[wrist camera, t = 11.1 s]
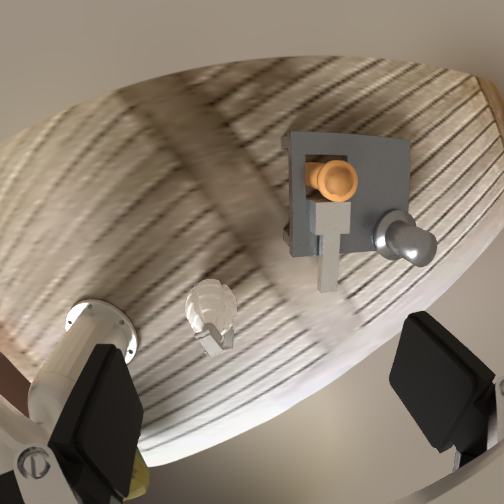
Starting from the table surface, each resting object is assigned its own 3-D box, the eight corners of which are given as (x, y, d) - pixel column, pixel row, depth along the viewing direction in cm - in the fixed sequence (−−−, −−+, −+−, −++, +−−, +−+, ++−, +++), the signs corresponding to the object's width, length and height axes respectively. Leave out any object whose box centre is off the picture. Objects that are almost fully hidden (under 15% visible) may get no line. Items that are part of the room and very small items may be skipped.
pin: (325, 189, 38) (357, 201, 28) (294, 190, 37) (319, 202, 28) (324, 157, 36) (357, 160, 27) (294, 158, 36) (319, 160, 27)
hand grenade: (247, 304, 42) (259, 362, 29) (209, 324, 42) (208, 384, 30) (220, 260, 39) (221, 308, 27) (180, 282, 40) (166, 335, 27)
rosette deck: (385, 259, 42) (435, 295, 30) (281, 269, 41) (307, 316, 28) (390, 141, 36) (450, 142, 24) (278, 135, 35) (309, 125, 23)
